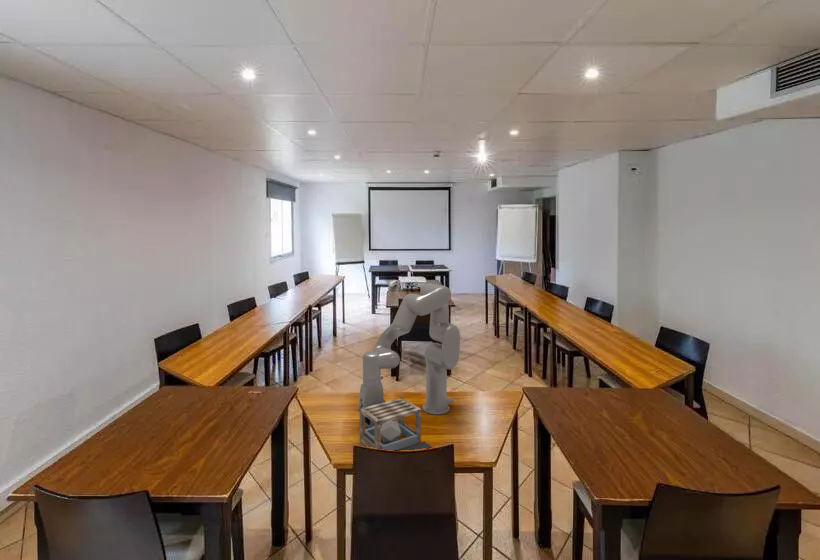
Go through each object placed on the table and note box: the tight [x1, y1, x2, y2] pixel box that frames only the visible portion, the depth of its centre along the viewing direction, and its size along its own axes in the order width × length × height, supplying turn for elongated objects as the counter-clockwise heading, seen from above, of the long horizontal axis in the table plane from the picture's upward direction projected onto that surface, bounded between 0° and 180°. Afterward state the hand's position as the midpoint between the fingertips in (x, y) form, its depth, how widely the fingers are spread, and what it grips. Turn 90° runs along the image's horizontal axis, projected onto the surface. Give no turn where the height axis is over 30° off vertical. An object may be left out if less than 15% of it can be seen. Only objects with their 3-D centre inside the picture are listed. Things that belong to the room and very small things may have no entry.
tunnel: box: [359, 397, 422, 449], centre depth 168 cm, size 20×14×14 cm
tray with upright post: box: [365, 420, 418, 451], centre depth 172 cm, size 16×24×9 cm, turn 34°
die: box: [380, 420, 402, 445], centre depth 168 cm, size 8×9×10 cm
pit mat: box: [400, 441, 433, 450], centre depth 163 cm, size 12×5×1 cm, turn 124°
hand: (371, 421), depth 180 cm, fingers closed on tray with upright post, 3 cm apart
